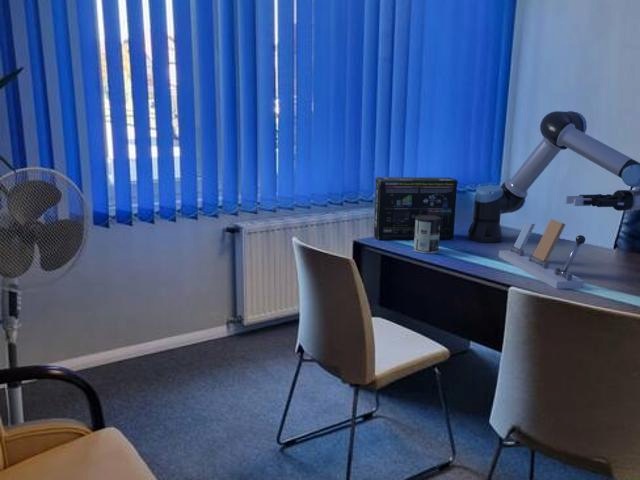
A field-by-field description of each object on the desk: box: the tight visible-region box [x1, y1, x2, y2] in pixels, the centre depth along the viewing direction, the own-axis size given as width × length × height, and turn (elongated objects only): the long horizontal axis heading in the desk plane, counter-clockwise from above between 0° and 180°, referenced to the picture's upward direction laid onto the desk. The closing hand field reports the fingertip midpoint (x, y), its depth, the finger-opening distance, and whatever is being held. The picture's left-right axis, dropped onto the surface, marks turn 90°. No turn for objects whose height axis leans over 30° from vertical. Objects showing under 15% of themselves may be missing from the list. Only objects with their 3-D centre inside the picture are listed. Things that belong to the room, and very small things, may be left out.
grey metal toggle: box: [556, 234, 586, 278], centre depth 188 cm, size 3×5×15 cm, turn 11°
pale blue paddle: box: [512, 220, 536, 254], centre depth 217 cm, size 2×5×13 cm, turn 11°
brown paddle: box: [530, 218, 566, 266], centre depth 202 cm, size 2×8×17 cm, turn 11°
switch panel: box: [498, 244, 585, 290], centre depth 204 cm, size 10×39×5 cm, turn 11°
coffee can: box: [413, 215, 441, 255], centre depth 227 cm, size 10×10×14 cm
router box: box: [373, 176, 459, 241], centre depth 247 cm, size 36×11×27 cm, turn 96°
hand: (570, 201), depth 200 cm, fingers open, 4 cm apart
